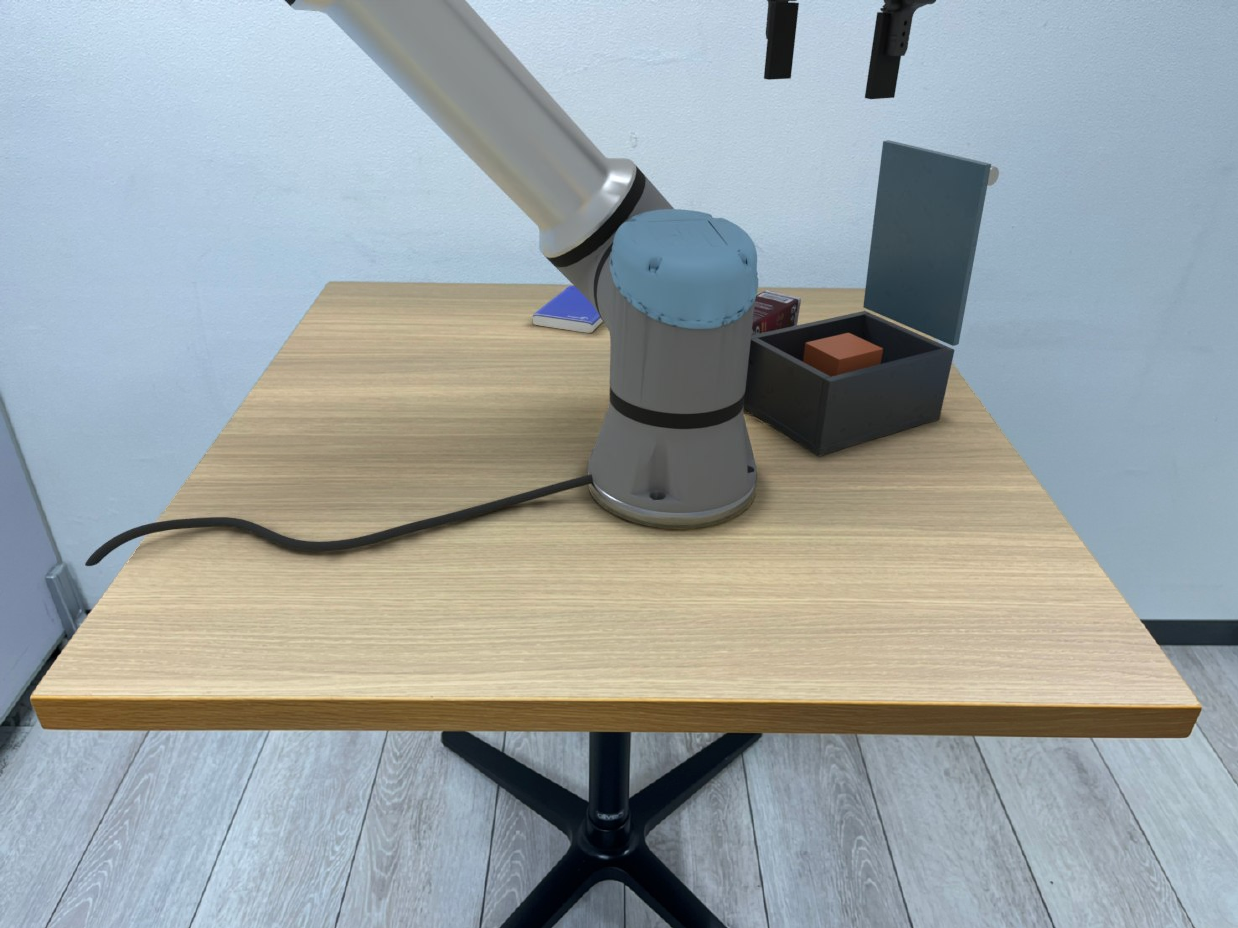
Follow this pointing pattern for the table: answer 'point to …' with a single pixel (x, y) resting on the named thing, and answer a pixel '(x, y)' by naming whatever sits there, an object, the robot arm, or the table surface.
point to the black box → (846, 383)
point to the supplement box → (774, 312)
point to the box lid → (925, 237)
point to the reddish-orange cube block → (841, 354)
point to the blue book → (569, 312)
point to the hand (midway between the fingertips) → (825, 88)
